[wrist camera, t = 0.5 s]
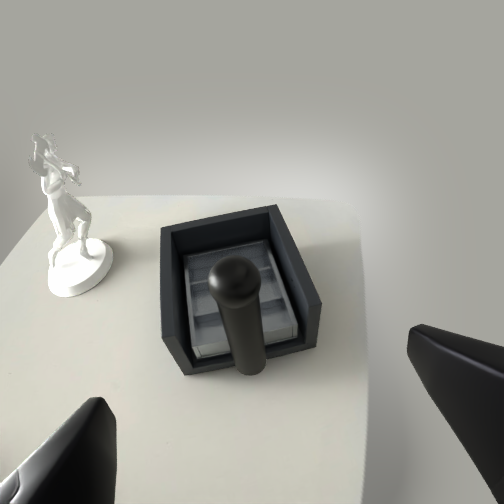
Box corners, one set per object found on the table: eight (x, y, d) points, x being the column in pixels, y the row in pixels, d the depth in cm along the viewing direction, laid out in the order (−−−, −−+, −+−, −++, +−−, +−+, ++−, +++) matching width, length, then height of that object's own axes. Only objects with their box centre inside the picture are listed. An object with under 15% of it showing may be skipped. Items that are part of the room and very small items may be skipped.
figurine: (105, 294, 31) (29, 141, 19) (38, 303, 31) (-41, 174, 19) (119, 235, 38) (71, 103, 26) (60, 247, 38) (5, 130, 26)
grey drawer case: (316, 346, 25) (322, 303, 21) (184, 375, 24) (161, 338, 20) (278, 250, 34) (276, 203, 30) (176, 271, 33) (160, 227, 29)
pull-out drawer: (306, 367, 23) (317, 266, 15) (202, 390, 22) (152, 300, 14) (267, 254, 32) (259, 153, 24) (188, 271, 31) (158, 173, 24)
